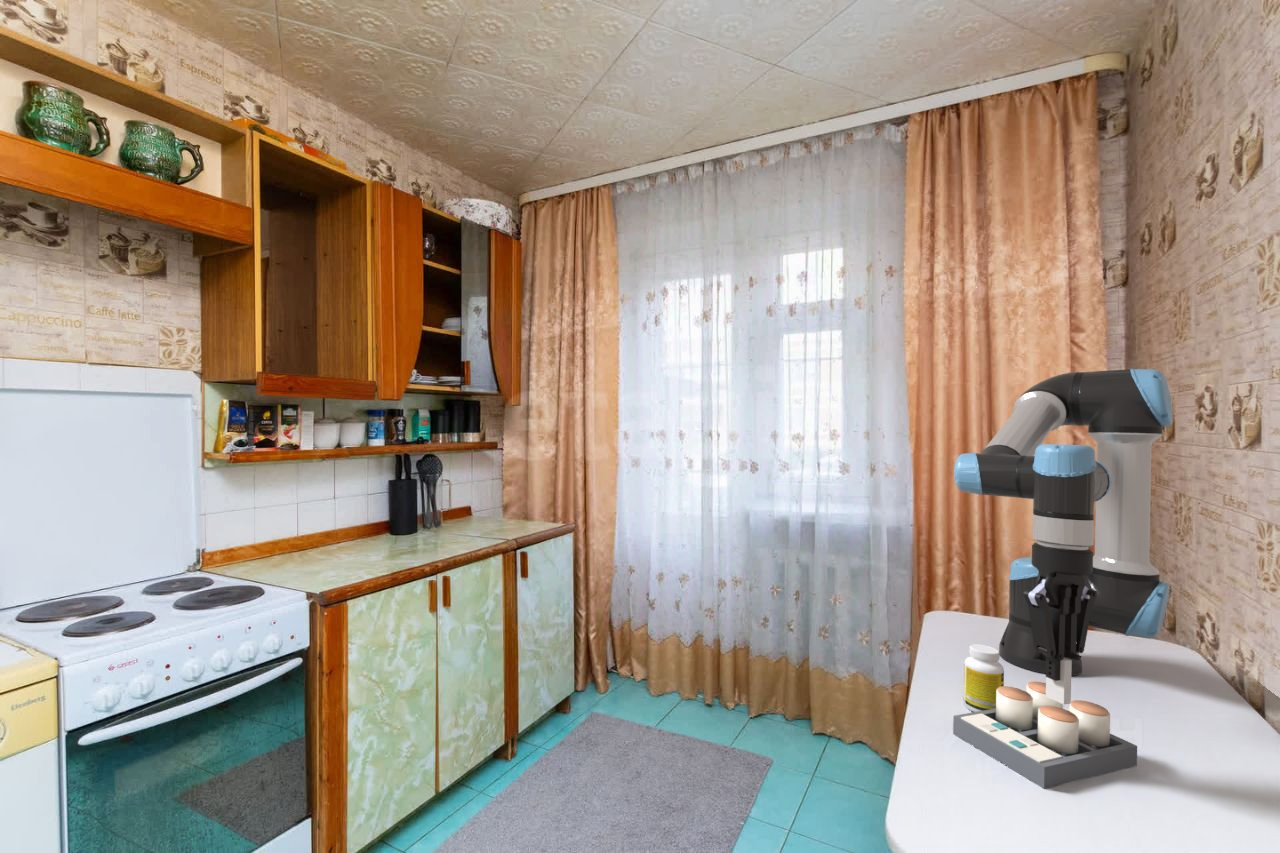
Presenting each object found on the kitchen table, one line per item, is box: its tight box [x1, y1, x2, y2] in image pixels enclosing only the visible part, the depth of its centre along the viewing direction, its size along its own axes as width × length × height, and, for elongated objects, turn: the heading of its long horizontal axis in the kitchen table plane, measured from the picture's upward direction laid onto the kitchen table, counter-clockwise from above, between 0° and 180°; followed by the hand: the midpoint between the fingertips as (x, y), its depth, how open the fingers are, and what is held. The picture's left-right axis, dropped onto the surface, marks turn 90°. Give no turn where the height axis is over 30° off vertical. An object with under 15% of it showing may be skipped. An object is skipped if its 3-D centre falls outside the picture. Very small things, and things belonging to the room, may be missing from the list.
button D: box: [1037, 706, 1079, 754], centre depth 86 cm, size 5×5×5 cm
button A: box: [1025, 681, 1064, 720], centre depth 95 cm, size 5×5×5 cm
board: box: [952, 708, 1138, 790], centre depth 90 cm, size 20×15×3 cm
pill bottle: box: [963, 643, 1005, 713], centre depth 102 cm, size 6×6×11 cm
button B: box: [1068, 699, 1111, 747], centre depth 88 cm, size 5×5×5 cm
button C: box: [996, 685, 1033, 730], centre depth 92 cm, size 5×5×5 cm
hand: (1058, 699), depth 86 cm, fingers closed
